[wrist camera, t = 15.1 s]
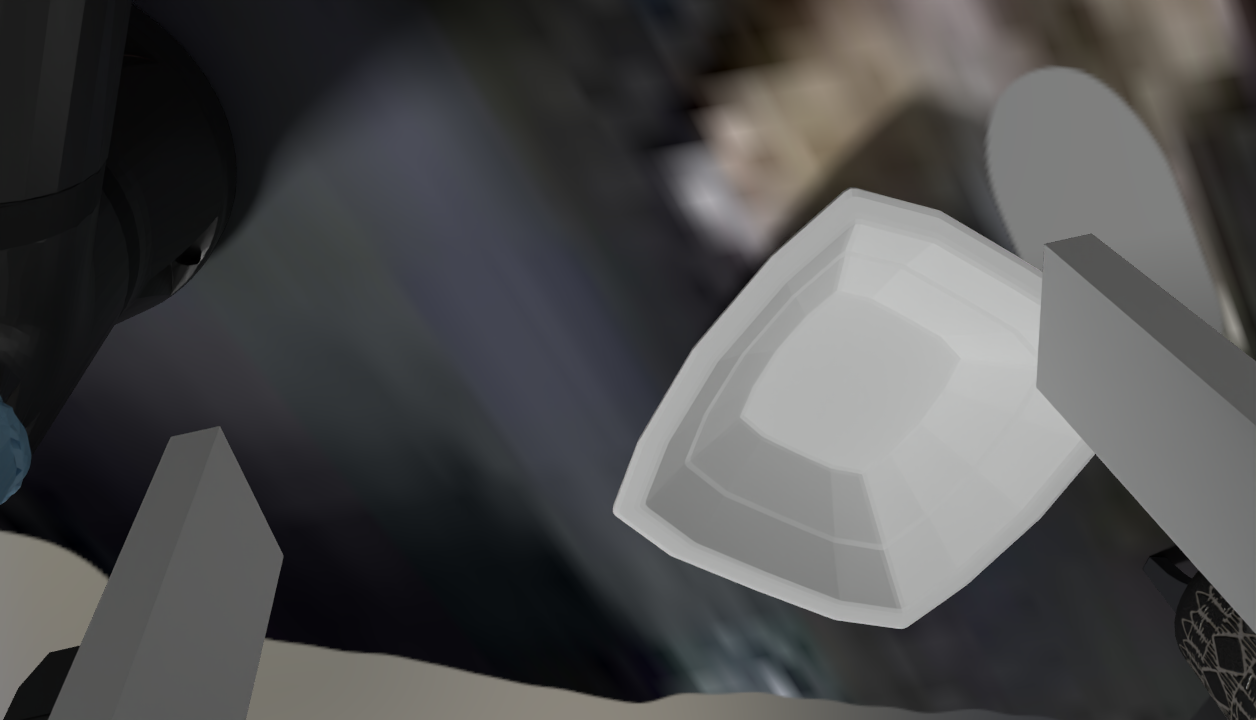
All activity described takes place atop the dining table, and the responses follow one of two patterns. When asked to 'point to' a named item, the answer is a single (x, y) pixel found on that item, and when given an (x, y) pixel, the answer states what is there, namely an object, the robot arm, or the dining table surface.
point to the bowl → (859, 419)
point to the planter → (1210, 637)
